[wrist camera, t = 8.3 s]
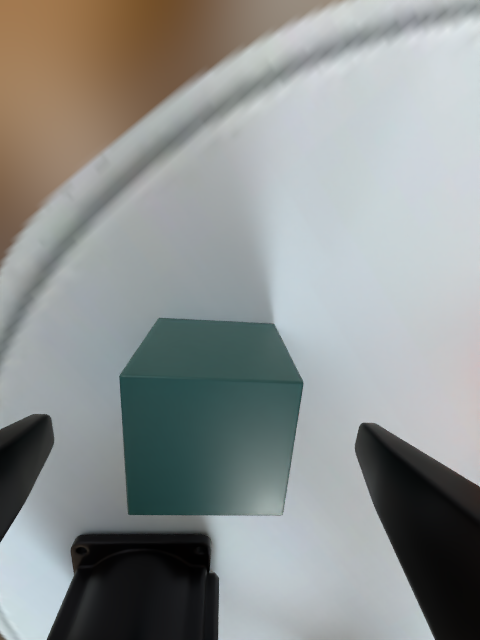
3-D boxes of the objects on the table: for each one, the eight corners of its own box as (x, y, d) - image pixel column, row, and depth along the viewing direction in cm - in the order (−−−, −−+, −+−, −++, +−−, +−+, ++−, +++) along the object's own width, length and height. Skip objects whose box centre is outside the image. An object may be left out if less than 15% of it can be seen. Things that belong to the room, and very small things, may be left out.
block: (159, 417, 12) (127, 515, 8) (158, 317, 11) (118, 375, 7) (263, 419, 13) (283, 516, 8) (274, 323, 11) (304, 382, 7)
